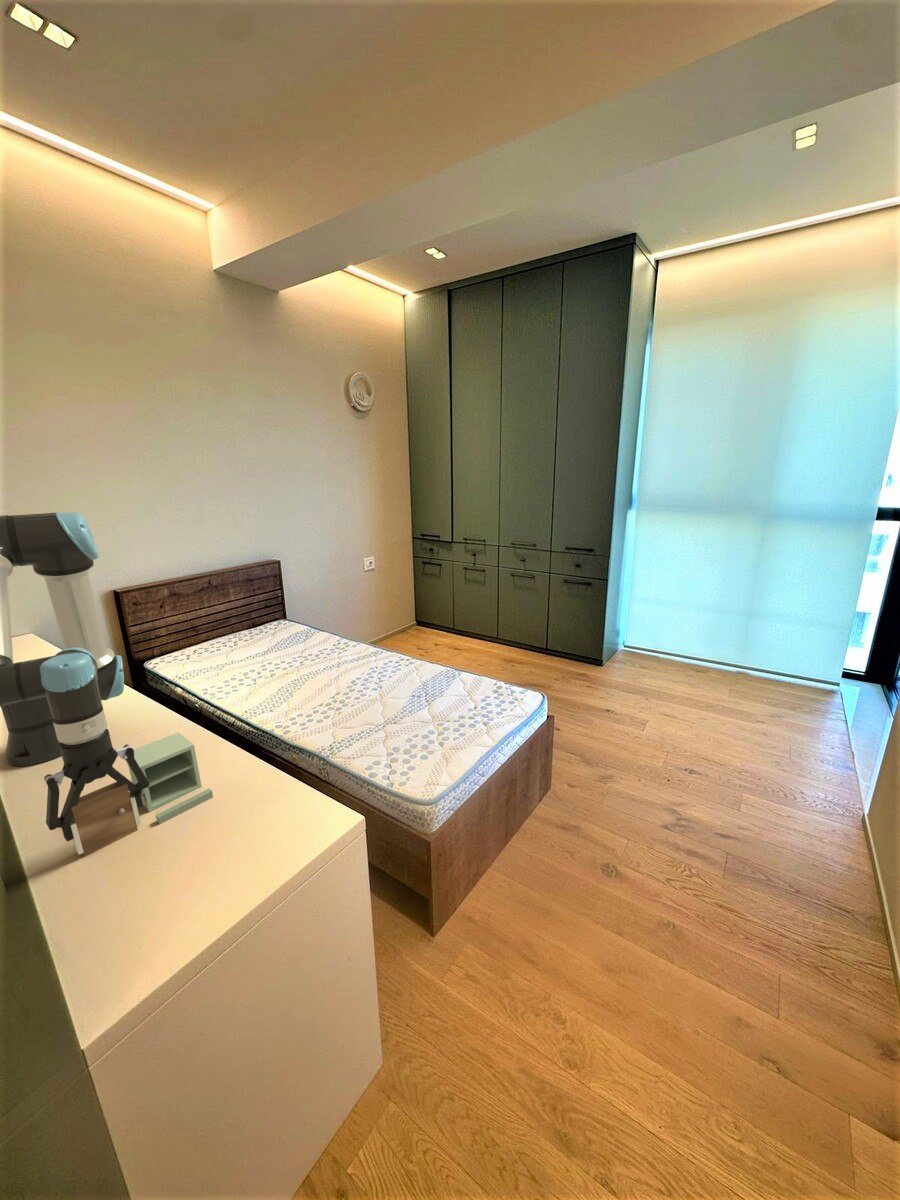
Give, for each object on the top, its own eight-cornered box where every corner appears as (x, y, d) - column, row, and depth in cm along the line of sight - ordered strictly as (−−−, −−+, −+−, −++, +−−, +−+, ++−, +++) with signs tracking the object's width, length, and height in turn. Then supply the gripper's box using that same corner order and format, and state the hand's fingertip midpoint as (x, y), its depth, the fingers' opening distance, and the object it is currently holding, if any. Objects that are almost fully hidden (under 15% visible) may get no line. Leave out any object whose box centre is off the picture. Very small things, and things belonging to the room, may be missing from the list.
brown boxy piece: (81, 850, 92) (68, 802, 89) (133, 824, 98) (123, 778, 95) (86, 859, 89) (72, 810, 87) (139, 832, 96) (128, 785, 93)
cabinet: (131, 796, 107) (121, 754, 104) (185, 772, 116) (178, 732, 113) (155, 826, 97) (145, 780, 95) (213, 796, 106) (205, 753, 103)
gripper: (10, 770, 78) (43, 880, 83) (155, 718, 94) (174, 814, 99) (2, 754, 82) (34, 860, 88) (142, 707, 98) (161, 799, 104)
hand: (109, 835), depth 94 cm, fingers closed on brown boxy piece, 9 cm apart
